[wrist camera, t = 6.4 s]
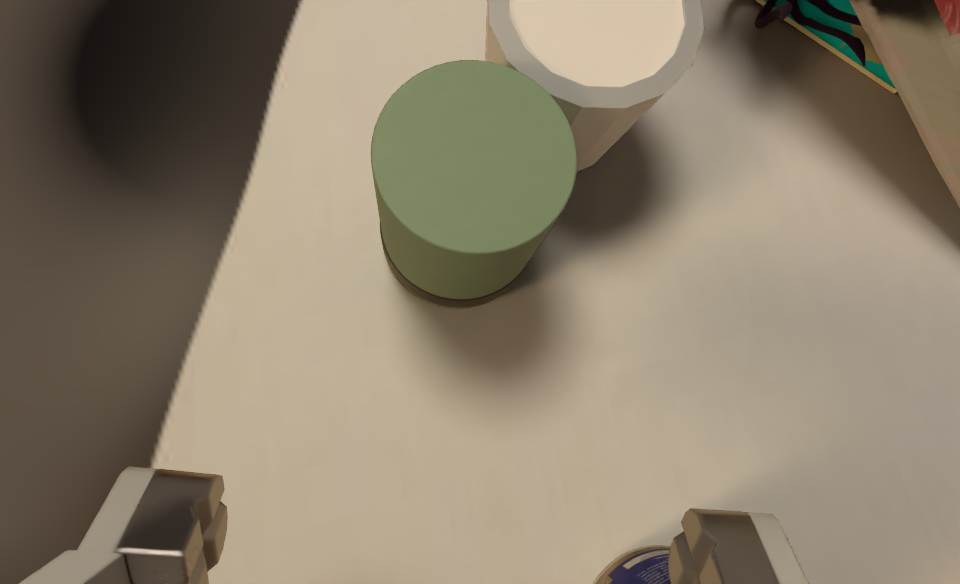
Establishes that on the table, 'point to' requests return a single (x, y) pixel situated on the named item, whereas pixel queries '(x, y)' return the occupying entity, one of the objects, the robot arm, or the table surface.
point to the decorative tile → (922, 70)
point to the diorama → (830, 31)
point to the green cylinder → (469, 179)
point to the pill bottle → (638, 567)
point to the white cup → (597, 57)
